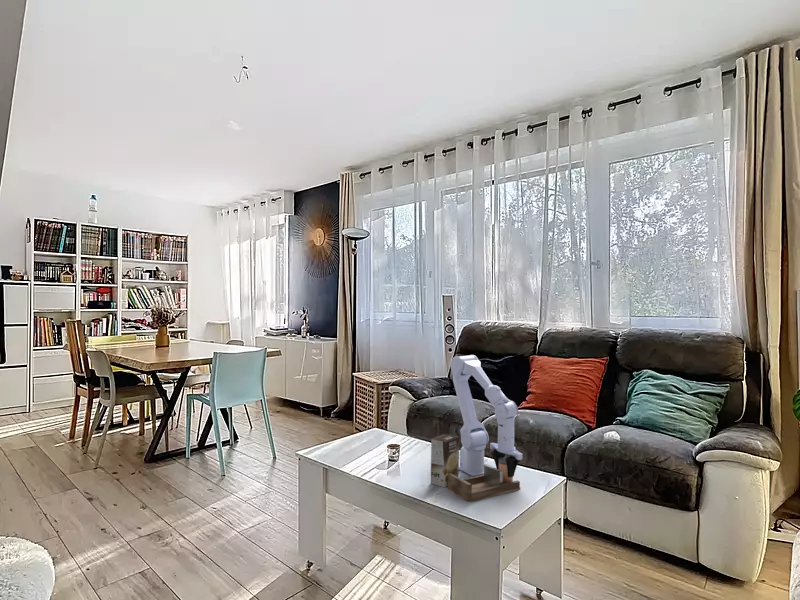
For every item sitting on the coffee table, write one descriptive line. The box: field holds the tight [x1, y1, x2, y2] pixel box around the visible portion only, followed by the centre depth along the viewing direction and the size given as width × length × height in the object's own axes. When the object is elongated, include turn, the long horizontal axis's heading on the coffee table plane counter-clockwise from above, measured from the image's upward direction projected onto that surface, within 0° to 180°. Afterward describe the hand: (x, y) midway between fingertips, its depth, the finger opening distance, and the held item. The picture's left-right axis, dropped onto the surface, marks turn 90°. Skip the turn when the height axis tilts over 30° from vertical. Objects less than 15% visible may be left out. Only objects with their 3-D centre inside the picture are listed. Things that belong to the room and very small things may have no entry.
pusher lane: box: [447, 473, 521, 503], centre depth 170 cm, size 12×22×6 cm, turn 120°
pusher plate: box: [484, 463, 503, 486], centre depth 172 cm, size 8×1×6 cm, turn 30°
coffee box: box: [430, 433, 460, 488], centre depth 176 cm, size 9×6×16 cm
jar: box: [498, 456, 514, 483], centre depth 175 cm, size 5×5×8 cm
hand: (505, 474), depth 175 cm, fingers closed on jar, 5 cm apart
